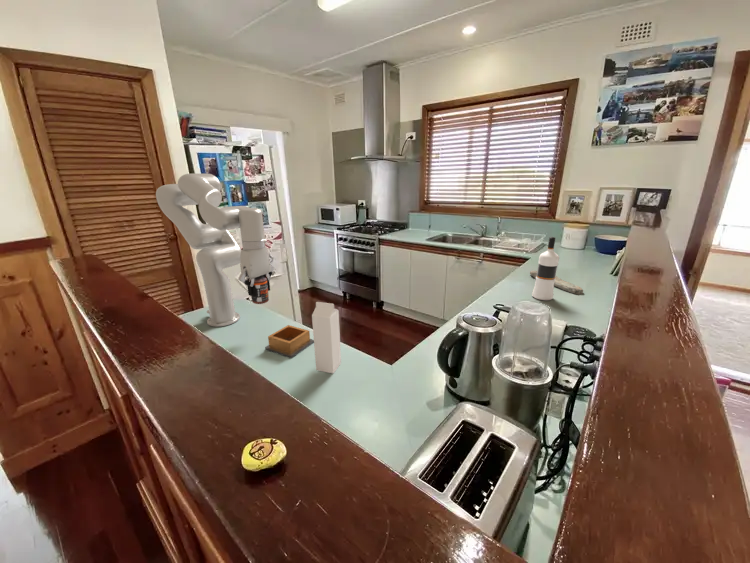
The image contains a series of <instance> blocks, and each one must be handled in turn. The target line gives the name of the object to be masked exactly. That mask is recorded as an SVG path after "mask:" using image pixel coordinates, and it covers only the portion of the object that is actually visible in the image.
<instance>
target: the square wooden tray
mask: <svg viewBox="0 0 750 563" xmlns="http://www.w3.org/2000/svg"><path fill="white" fill-rule="evenodd" d="M310 336H311V335H310V330H309V329H305V328H300V327H297V326H294V325H293V326H292V325H289V324H288V325H286V326H284V327H282V328H281V329H279V330H277V331H276V332H273V333H272V334H270V335H268V336H267V339H268V345H266V346H265V351H269V352H270V353H274V354H277V355H279V356H283V357H284V358H288V359H293V358H294V357H296V356H297V355H299V354H300V353H301V352H303V351H304V350H306V349H307V348H308V347H310V346H311V345H314V339H312V338H311V337H310Z"/></svg>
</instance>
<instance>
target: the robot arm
mask: <svg viewBox="0 0 750 563" xmlns="http://www.w3.org/2000/svg"><path fill="white" fill-rule="evenodd" d="M221 190H222V185H221V182H220V180H219V179H218V177H217V176H215V175H214V174H212V173H196V172H195V173H186V174H183V175H181V176H180V177H179V178H178V180H177V183H170V184H169V183H168V184H164V185H160V186H159V187H158V188H157V189H156V192H155V198H156V199H155V200H156V202H157V204H158V207H159V209H160V210H161V211H162V213H163V214H164V215H165V216H166V217H167V218H168V219H169V220H170V221H171V222H172V223H173V225H175V227H176V228H177V230H178V231H179V233H180V234H181V236H182V237H183V239H185V241H186V242H187V244H188V245H189V246H190V247H191V248H192V249H193V250H199V251H198V252H197V253H196V256H195V260H196V263H197V266H198V268H199V271H200V274H201V277H202V281H203V286H204V290H205V296H206V301H207V305H208V310H206V313H207V314H209V318H208V319H207V320H206V323H207V325H209V326H210V327H214V328H215V327H216V328H217V327H218V328H219V327H225V326H230V325H233V324H235V323H237V322H238V321H239V320H240V318H241V314H240V313H239V312H236V310H235V303H234V297H233V290H232V285H231V279H230V277H229V275H228V274H226V273H225V272H224V271H223V270H225V269H227V268H231V267H235V266H238V265H240V275H239V276H238V280H239V281H240V282H241V283H242V284H244V285H245V286H246V287H247V293H248V295H249V296H250V297H251V296H253V297H255V296H256V290H255V286H253V285H254V279H255V278H256V277H259V276H261V275H264V277H266V278H267V285H268V292H270V291H271V284H270V280H271V279H272V278H271V276H272V275H273V272H274V271H275V267H274V266H273V265H272V264H271V259H270V254H269V253H270V252H269V250H268V247H267V246H266V243H267V238H265V229H264V228H265V226H264V217H263V212H262V210H261V209H260V208H258V207H248V206H246V205H237V206H233V205H232V206H221V207H219V206H220V205H221V203H222V200H223V196H222V193H221ZM195 205H198V210H199V211H198V212H199V214H200V216H201V218H202V220H203V221H204V222H205V223H202V221H201V220H200V219H199V217H198V215H196V214H195V213H194V212H192V211H191V210H189V209H188V208H186V207H184V206H195ZM234 229H240V238H241V245H242V249H241V247H240V245H239V244H238V242H237V241H236V240H235V238H234V237H233V236H232V234H231V233H230V231H229V230H234ZM250 279H251V280H250Z"/></svg>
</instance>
